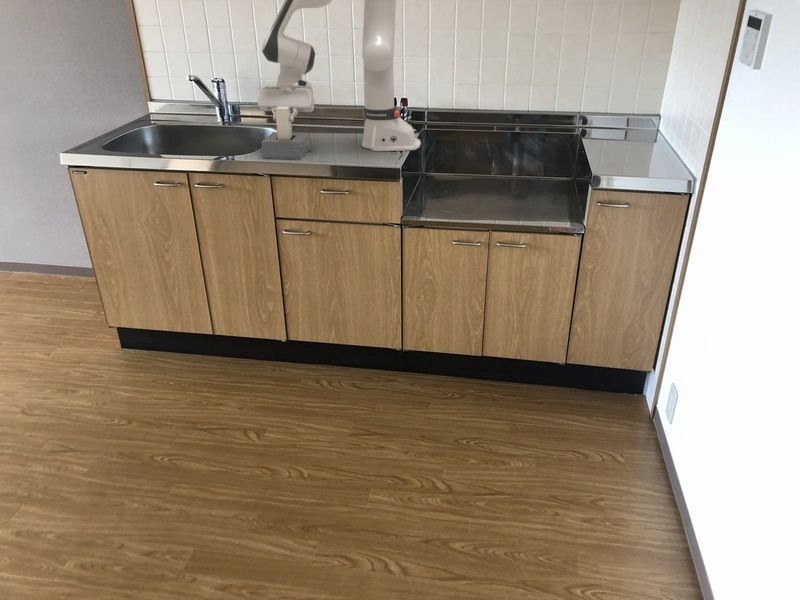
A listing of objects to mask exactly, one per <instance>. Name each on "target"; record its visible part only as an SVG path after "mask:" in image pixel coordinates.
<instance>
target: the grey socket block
mask: <svg viewBox="0 0 800 600" xmlns="http://www.w3.org/2000/svg"><path fill="white" fill-rule="evenodd" d="M260 143H261V152H262V159H265V160H266V159H269V160H271V159H274V160H300V161H301V160H302V159H303V158H304V157H305V156H306V155H307V154H308V152H309V151H310V150H311V149H312V148H311V147H312V146H311V134H310V132H292V138H291V139H290V140H281V139H278V135H277V131H276V132H275V131H273V132H271V133H270V134H268V136H267V137H265V138H264V139H263V140H261V142H260Z"/></svg>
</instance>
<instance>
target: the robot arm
mask: <svg viewBox="0 0 800 600" xmlns="http://www.w3.org/2000/svg"><path fill="white" fill-rule="evenodd" d="M332 1H333V0H284V2H283V4H282V6H281V8H280V10H279V12H278V14H277V15H276V18H275V19H274V22H273V24H272V26H271V28H270V30H269V32H268V33H267V35H266V36H265V37H264V40H263V41H262V48H261V52H262V54H263V56H264V57H265V59H266V61H268V62H270V63H275V64H279V73H278V76H277V81H276V86H268V85H267V86H264V87H262V88H261V89H260V91H259V95H258V96H259V97H258V100H257V107H258V108H259V109H260V111H263V112H264V111H265V112H272V115H273V116H272V120H273V121H274V122H276V111H275V108H277V107H278V106H282V107H290V112H291V115H289V118H288V120H289V121H290V122H291V123H292V122H294V120H295V118H296V117H297V116H298V114H299V113H312V112H313V111H314V110H315V97H314V91H313V87H312V84H311V83H310V82H309V81H307V80H303V75H307V74H308V73H310V72H311V71H312V69H314V64H315V57H316V51H315V49H314V47H313V46H312V45H311V44H310V43H308V42H305V41H302V40H298V39H295V38H293V37H290V36H288V35H285V34H284V32H285V30H286V28H287V27H288V24H289V22H290V21H291V18H292V16H293V14H294V13H295V12H297V11H298V10H301V9H317V8H318V9H319V8H323V7H325V6H328V5H329V4H330V3H331V2H332ZM363 2H364V3H363V23H362V25H363V27H362V28H363V29H362V30H363V31H362V48H361V49H362V50H361V55H362V62H363V99H364V103H363V104H364V107H363V110H362V111H363V112H362V115H363V117H362V118H363V124H364V128H363V129H364V130H363V137H362V141H361V146H362V147H363V148H365V149H369V150H371V151H374V152H390V151H391V152H392V151H393V152H395V151H397V152H398V151H415V150H418V149H419V148H420V147H421V144H422V143H421V142H422V141H421V140H420V139H419V138H416V135H415V130H414V127H413V126H412V125H410V124H409V123H408V122H406V121H405V120H404V119H403V118H401V117H400V115H401V114H400V111H401V110H400V107H396V106H395V82H394V81H395V79H394V75H395V74H394V54H395V53H394V52H395V51H394V50H395V31H396V30H395V29H396V10H397V0H363Z"/></svg>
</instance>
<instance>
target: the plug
mask: <svg viewBox="0 0 800 600" xmlns="http://www.w3.org/2000/svg"><path fill="white" fill-rule="evenodd" d="M275 111H276V113H275V114H276V121H275V123H276V132H277V135H278V139H281V140H290V139H291V138H292V133H293V126H292V122H290V121H289V120H288V118H289V115H291V114H292V112H290V107H282V106H278V107H277V108H275Z"/></svg>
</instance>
